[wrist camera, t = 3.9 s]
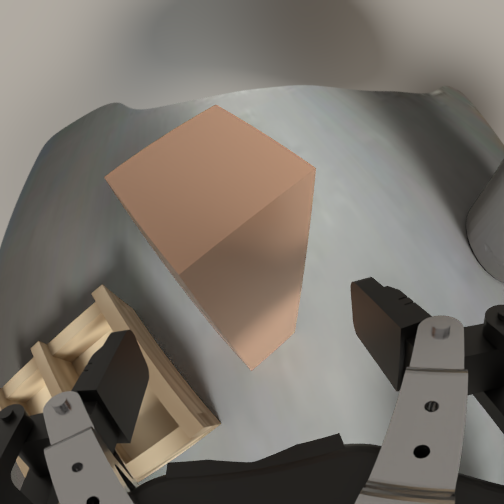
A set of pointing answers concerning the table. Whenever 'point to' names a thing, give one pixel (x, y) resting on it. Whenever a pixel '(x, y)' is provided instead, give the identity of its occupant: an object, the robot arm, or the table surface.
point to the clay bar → (226, 224)
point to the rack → (155, 398)
